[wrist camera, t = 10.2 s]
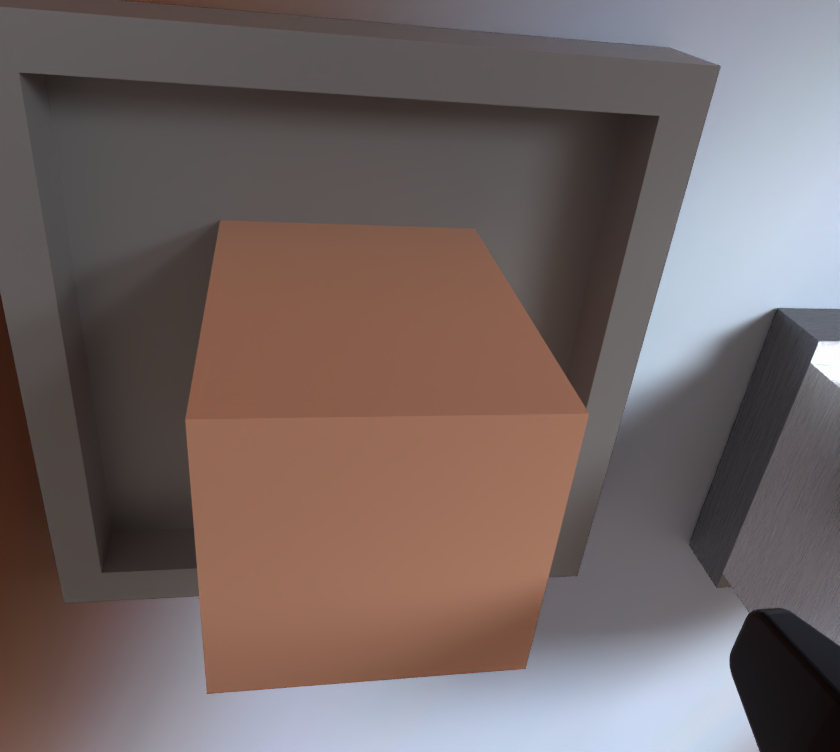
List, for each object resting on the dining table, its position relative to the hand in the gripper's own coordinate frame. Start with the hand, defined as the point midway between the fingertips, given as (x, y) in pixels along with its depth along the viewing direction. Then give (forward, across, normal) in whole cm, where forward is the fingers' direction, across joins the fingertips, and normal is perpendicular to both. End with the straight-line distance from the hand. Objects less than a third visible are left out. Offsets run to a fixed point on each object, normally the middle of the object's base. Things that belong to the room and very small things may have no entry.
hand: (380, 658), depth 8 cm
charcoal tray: (+8, 0, 0) cm, 8 cm away
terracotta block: (+7, 0, 0) cm, 7 cm away
